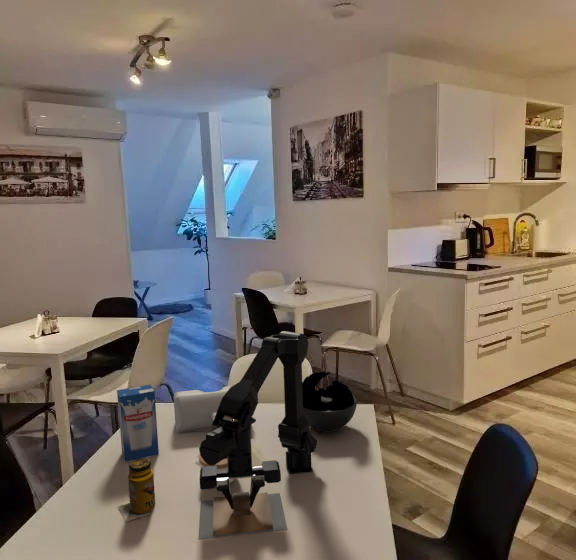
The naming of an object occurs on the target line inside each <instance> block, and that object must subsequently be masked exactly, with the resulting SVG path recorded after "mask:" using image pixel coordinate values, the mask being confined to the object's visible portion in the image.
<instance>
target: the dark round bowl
mask: <svg viewBox="0 0 576 560" xmlns="http://www.w3.org/2000/svg"><path fill="white" fill-rule="evenodd" d="M330 374H331V372H325V371H320V372H318V371H317V372H314V373H310V375H309V376H305V378H304V379H303V380H302V390H303V415H304V416H305V418H306V420H307V421H308V423H309V426H310V429H313V430H316V431H317V432H324V433H327V432H329V433H331V432H334V431H337V430H340V429H343V428H344V427H346V425H348V423H350V421H351V420H352V418H353V416H354V415H355V413H356V409H357V406H358V405H357V404H358V400H357V398H356V397H355V396H354V394H353V392H352V391H351V390H350V389H349V387H348V386H347V385H346V384H344V383H342V382H341V381H338V380H332V381H331V385H328V386H327V387H326V388H324V387H319V388H318V389H317V385H318V384H319V382H321V380H322V379H324V378H326V377H327V376H328V375H330Z"/></svg>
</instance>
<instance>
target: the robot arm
mask: <svg viewBox="0 0 576 560" xmlns="http://www.w3.org/2000/svg"><path fill="white" fill-rule="evenodd" d="M308 348H309V339H308V337H307V336H306V335H305V334H304V333H302V332H301V333H299V332H293V331H287V330H283V331H282V330H281V332H279V333H278V334H272V335H270V336H266V337H264V338H263V340H262V342H261V346H260V348H259V350H258V352H257V354H256V355H255V356H254V358H253V360H252V362H251V363H250V365H249V366H248V368H247V369H246V372H245V373H244V375H243V376H242V378H241V380H239V382H236V383H235V384H234V385H231V386H232V387H230V389H229V390H228V391H227V392H226V394H225V395H224V396H223V398H222V400H221V402H220V405H219V407H218V410H217V413H216V415H215V418H214V421H213V423H212V426H215V427H217V428H215V429H213V431H210V432H209V431H208V432H207V433H206V434H205V439H204V440H202V441H201V443H200V446H199V447H198V448H199V449H198V450H199V456H200V455H201V457H202V459H203V460H204V461H205V462H206V463H207V464H208V465H216V464H217V463H219V462H220V461H222V460H223V459H227V466H228V471H217V466H207V467H202V468H200V470H199V489H200V490H202V491H203V490H211V489H212V490H213V489H215V488H216V491H217V492H221V494H222V495H223V497H224V496H225V497H226V499H227V501H228V503H229V505H230V507H231V509H233V498H232V496H233V493H232V489H231V483H230V481H229V479H234V480H237V479H246V478H247V479H248V478H250V490H249V494H250V508H252V505H253V503H254V500H255V497H256V495H257V493H260V489H261V488H264V487H265V486H266V484H277V483H280V482H281V481H282V479H281V478H282V477H281V475H282V473H281V468H280V464H279V461H277V459H276V460H275V459H274V460H265V461H262V462H261V465H256V466H253V459H252V458H253V457H252V456H253V455H252V435H251V434H252V433H251V432H252V431H251V426H252V424H254V423H256V422H257V421H256V420H257V419H256V418H254V417H253V416H254V414H255V411H256V409H257V407H258V404H259V395H258V394H259V391H260V390H261V388H262V386H263V385H264V382H265V381H266V380H267V377H268V376H269V374H270V373H271V371H272V369H273V367H274V365H275V364H276V362H277V360H278V359H279V361H280V362H281V364H282V366H283V367H282V369H283V392H284V393H283V394H284V395H283V396H284V397H283V398H284V418H283V419H282V420H281V422H280V423H278V425H277V429H278V435H277V438H278V439H279V441H280V444H281V447H282V448H284V449H287V450H286V451H285V466H286V469H287V470H288V472H289V473H288V474H290V475H293V474H295V475H296V474H304V473H306V474H307V473H312V472H314V470H313V467H312V454H313V453H315V451H316V448H317V446H318V445H317V444H318V440H317V438H315V436H314V435H313V434H312V433H311V427H310V426H309V423H308V421H307V420H306V418H305V416H304V415H303V390H302V382H303V366H302V365H303V363H304V361H305V359H306V358H307V356H308ZM224 417H228V418H231V419H235V420H234V421H228V420H225V419H223V418H224Z"/></svg>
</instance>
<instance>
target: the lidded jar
mask: <svg viewBox="0 0 576 560" xmlns="http://www.w3.org/2000/svg"><path fill="white" fill-rule="evenodd" d="M198 458H199V459H198V460H199V466H200V467H199V468H200V469H201V468H202V467H207V466H217V471H228V466H227V459H223V460H222V461H220V462H219V463H217V464H216V465H208V464H207V463H206V462H205V461H204V460H203V459H202V457H201V455H200V454H199V456H198ZM234 480H235V479H229V481H230V484H231V483H232V482H233V481H234Z"/></svg>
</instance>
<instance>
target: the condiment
mask: <svg viewBox="0 0 576 560" xmlns="http://www.w3.org/2000/svg"><path fill="white" fill-rule="evenodd" d="M154 477H155V475H154V471H153V469H152V462H151V460H150V459H148V458H141V459H136V460H133V461H130V463H129V465H128V475H127V482H128V485H127V486H128V494H129V495H128V497H129V502H128V503H125V504H121V505H118V506H117V508H118V509H119V511H120V514H121V515H122V517H123V519H124V520H125V522H126V523H128V522H130V521H134V520H135V519H139V518H141V517H145V516H147V515H148V516H149V515H150V514H152V511H153V509H154V507H155V505H156V493H155V491H156V490H155V481H154V479H155V478H154Z"/></svg>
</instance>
